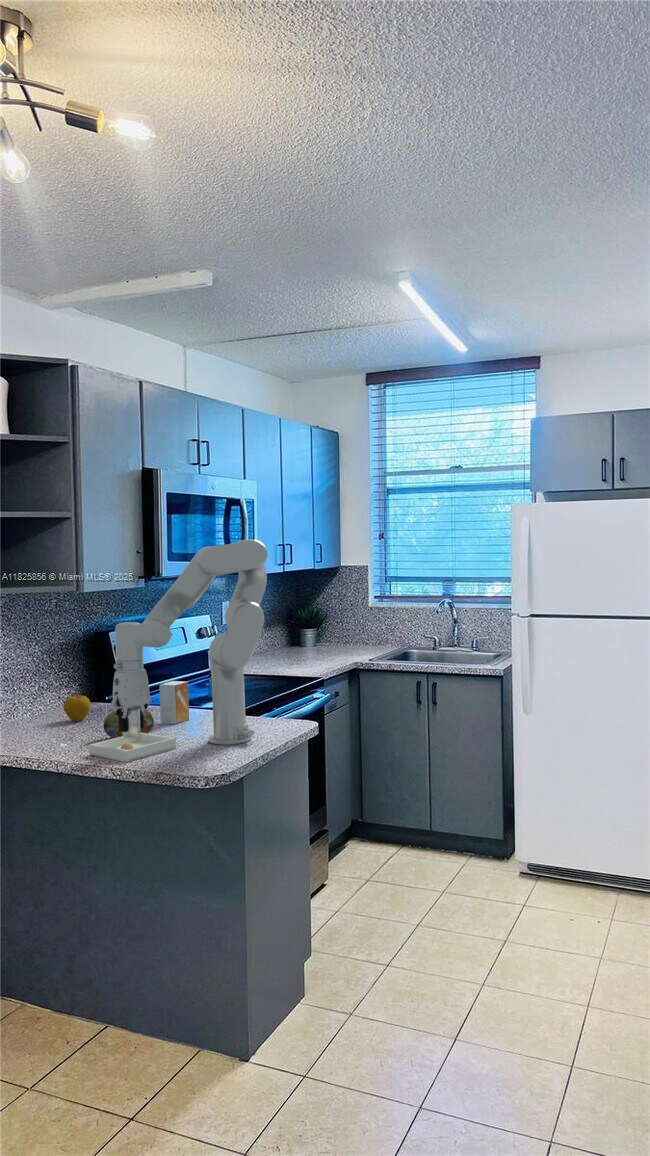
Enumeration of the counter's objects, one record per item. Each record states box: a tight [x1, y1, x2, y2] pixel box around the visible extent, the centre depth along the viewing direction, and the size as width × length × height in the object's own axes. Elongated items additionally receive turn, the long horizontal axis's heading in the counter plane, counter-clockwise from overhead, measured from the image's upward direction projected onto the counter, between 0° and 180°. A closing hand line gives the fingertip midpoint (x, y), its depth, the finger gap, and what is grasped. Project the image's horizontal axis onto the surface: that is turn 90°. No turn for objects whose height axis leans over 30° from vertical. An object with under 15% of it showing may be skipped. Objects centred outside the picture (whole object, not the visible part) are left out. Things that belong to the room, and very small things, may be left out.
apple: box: [63, 694, 92, 722], centre depth 287 cm, size 9×9×9 cm
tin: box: [103, 709, 155, 739], centre depth 260 cm, size 15×3×8 cm, turn 101°
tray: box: [88, 733, 177, 763], centre depth 239 cm, size 16×18×3 cm
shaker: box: [122, 705, 141, 738], centre depth 239 cm, size 5×5×9 cm
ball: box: [121, 743, 134, 750], centre depth 232 cm, size 4×4×4 cm
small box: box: [159, 680, 190, 725], centre depth 280 cm, size 8×6×13 cm
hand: (131, 729), depth 239 cm, fingers closed on shaker, 5 cm apart
